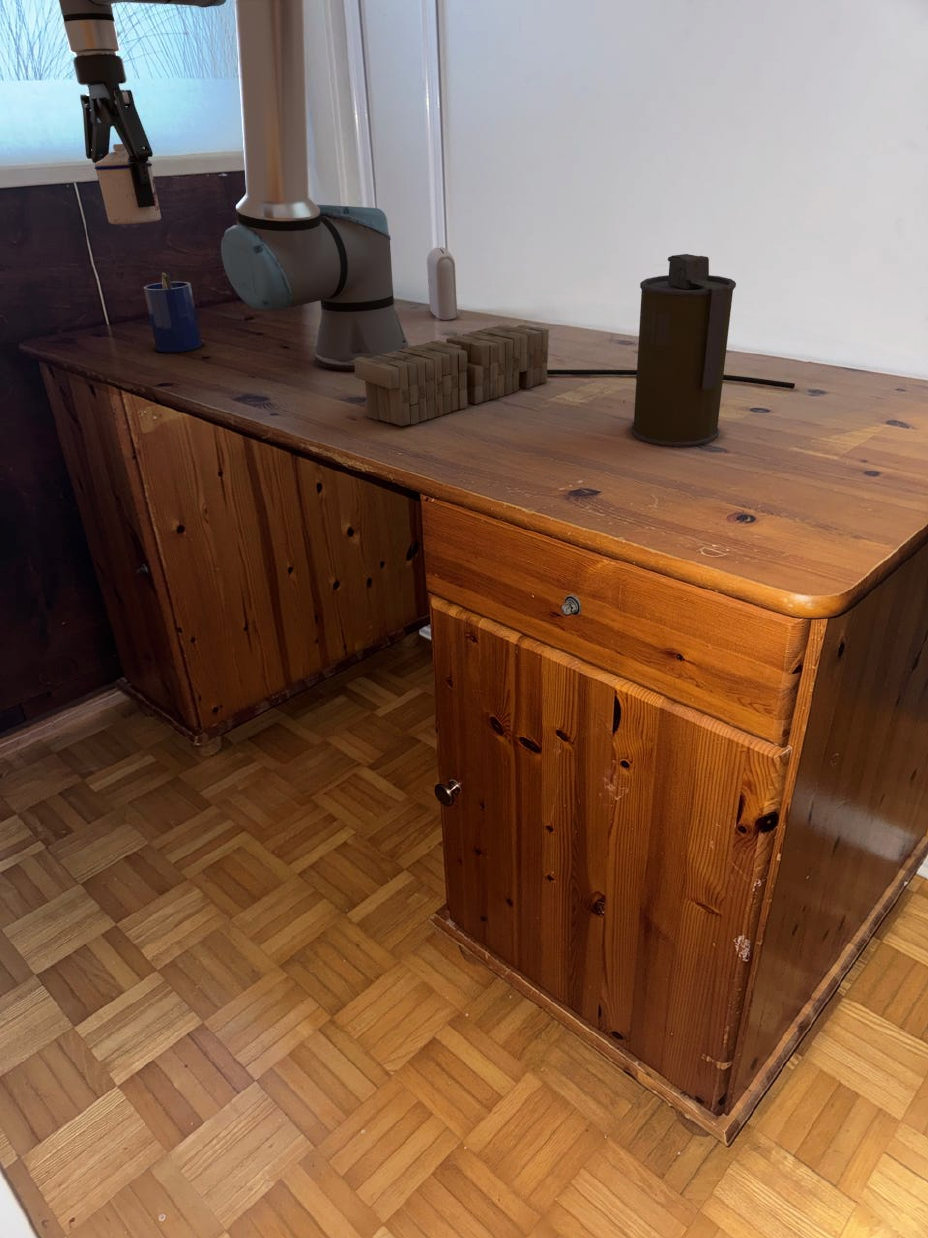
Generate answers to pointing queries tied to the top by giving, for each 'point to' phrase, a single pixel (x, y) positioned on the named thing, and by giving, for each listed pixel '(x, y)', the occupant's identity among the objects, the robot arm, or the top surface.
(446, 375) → the block tower
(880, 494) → the top surface
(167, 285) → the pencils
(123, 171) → the teacup with lid
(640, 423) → the canister
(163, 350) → the pen pot
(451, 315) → the photo printer
